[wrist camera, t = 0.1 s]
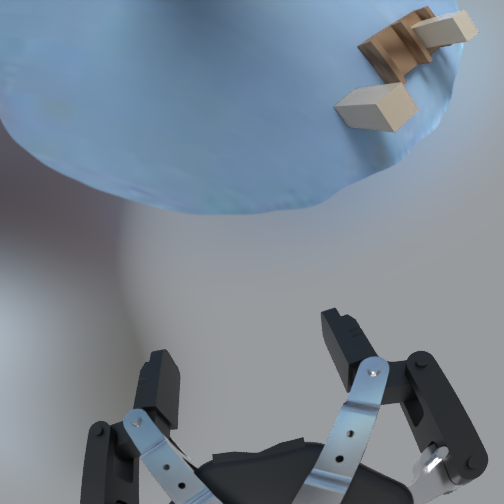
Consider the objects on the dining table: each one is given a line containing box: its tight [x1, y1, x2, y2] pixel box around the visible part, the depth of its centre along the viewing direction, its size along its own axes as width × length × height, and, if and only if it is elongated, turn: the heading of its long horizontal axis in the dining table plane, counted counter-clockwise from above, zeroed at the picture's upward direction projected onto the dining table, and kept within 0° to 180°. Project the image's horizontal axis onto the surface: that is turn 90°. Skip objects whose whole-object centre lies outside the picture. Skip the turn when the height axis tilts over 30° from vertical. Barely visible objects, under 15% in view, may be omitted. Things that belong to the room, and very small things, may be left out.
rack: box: [358, 6, 452, 84], centre depth 29 cm, size 8×18×4 cm, turn 133°
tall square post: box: [411, 10, 478, 48], centre depth 23 cm, size 4×5×12 cm
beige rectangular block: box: [334, 82, 418, 133], centre depth 30 cm, size 4×5×12 cm
